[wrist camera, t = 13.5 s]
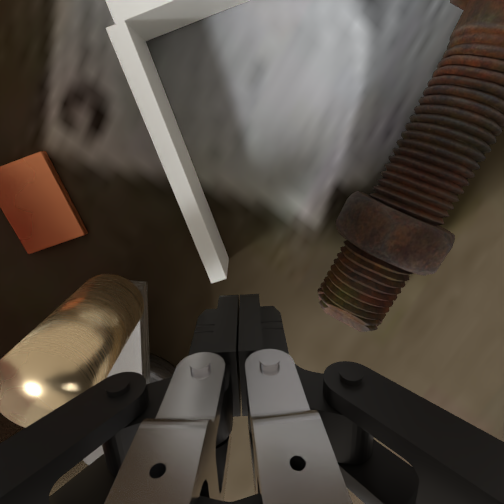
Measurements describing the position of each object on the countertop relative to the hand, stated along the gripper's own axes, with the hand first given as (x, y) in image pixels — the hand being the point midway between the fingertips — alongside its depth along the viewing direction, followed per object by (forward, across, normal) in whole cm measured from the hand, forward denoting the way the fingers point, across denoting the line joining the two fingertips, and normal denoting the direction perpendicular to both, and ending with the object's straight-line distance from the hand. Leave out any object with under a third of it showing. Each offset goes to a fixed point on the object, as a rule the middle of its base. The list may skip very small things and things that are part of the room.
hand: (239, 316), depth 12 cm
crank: (+2, +6, +4) cm, 7 cm away
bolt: (+5, -8, -5) cm, 11 cm away
